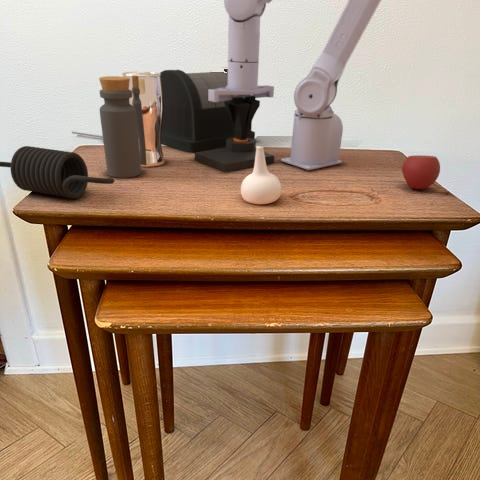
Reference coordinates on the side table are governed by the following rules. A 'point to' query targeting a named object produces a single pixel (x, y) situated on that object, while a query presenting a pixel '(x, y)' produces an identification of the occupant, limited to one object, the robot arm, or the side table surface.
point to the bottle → (119, 128)
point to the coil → (51, 172)
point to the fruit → (421, 171)
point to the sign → (87, 134)
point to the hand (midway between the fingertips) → (240, 138)
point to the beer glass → (148, 114)
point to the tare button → (240, 140)
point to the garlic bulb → (260, 182)
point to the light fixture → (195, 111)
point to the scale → (232, 156)
